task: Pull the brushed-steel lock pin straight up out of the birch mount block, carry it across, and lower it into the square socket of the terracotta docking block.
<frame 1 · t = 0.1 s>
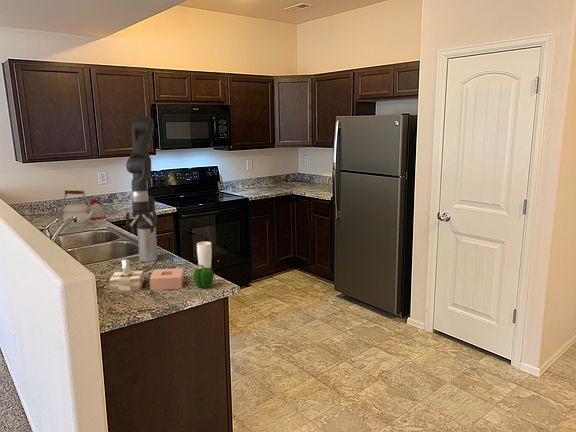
hand: (142, 233, 217), 17 cm above the worktop, tool pointing down, fingers open, 8 cm apart
drinking glass: (205, 274, 208), on the worktop
kettle: (79, 225, 320), on the worktop
mount block: (127, 286, 193), on the worktop
dock block: (167, 284, 195), on the worktop
lock pin: (126, 273, 191), in the mount block
bell pepper: (204, 287, 192), on the worktop
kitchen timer: (95, 218, 344), on the worktop
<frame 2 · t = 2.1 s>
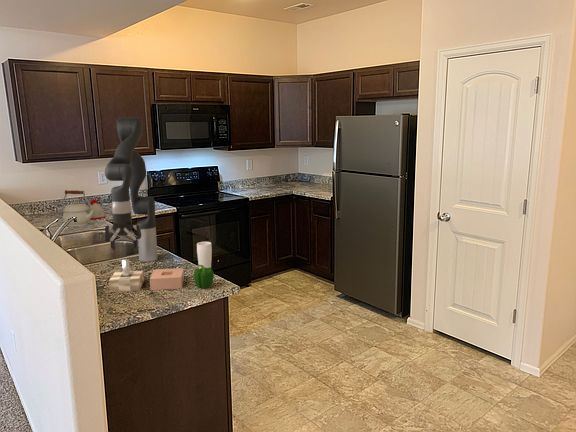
hand: (124, 248, 189), 17 cm above the worktop, tool pointing down, fingers open, 8 cm apart
nothing on the worktop moved.
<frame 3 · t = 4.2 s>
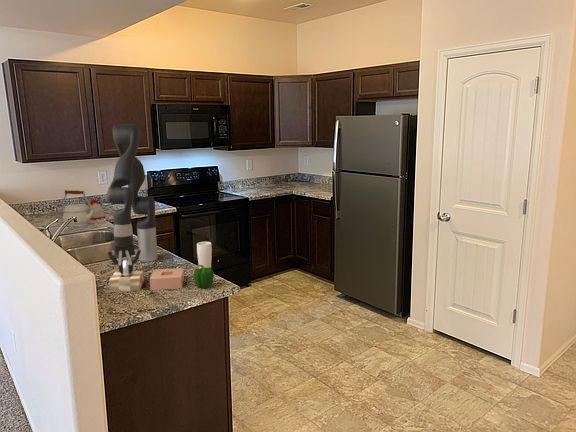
hand: (126, 272, 191), 6 cm above the worktop, tool pointing down, fingers closed on lock pin, 3 cm apart
lock pin: (126, 273, 191), in the mount block, touching gripper
everything else where it was.
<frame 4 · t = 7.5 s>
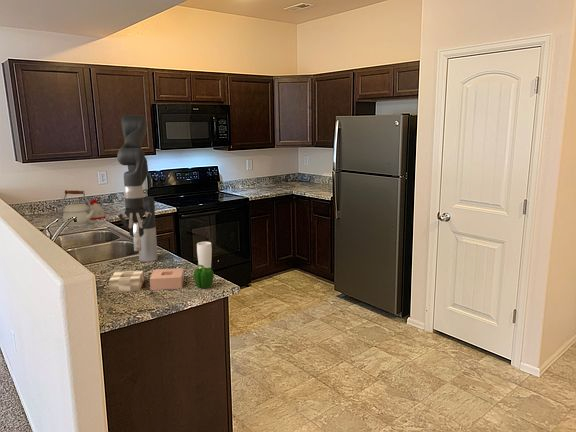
hand: (136, 236, 189), 22 cm above the worktop, tool pointing down, fingers closed on lock pin, 3 cm apart
lock pin: (136, 236, 189), point 22 cm above the worktop, touching gripper
everything else where it was.
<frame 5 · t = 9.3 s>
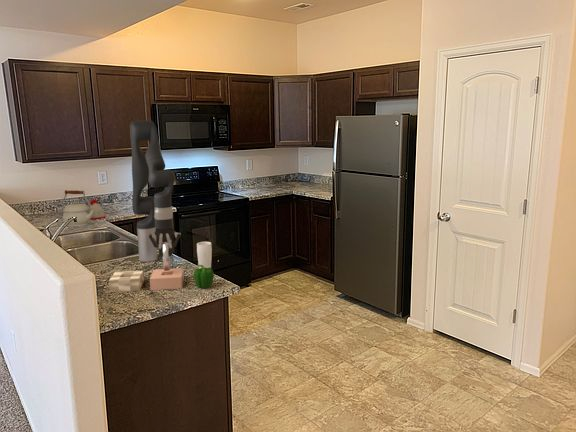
hand: (166, 256, 193), 13 cm above the worktop, tool pointing down, fingers closed on lock pin, 3 cm apart
lock pin: (166, 256, 193), point 13 cm above the worktop, touching gripper
everything else where it was.
when the fingers open (7 cm above the worktop, at t = 10.7 s): lock pin stays where it is, resting in dock block.
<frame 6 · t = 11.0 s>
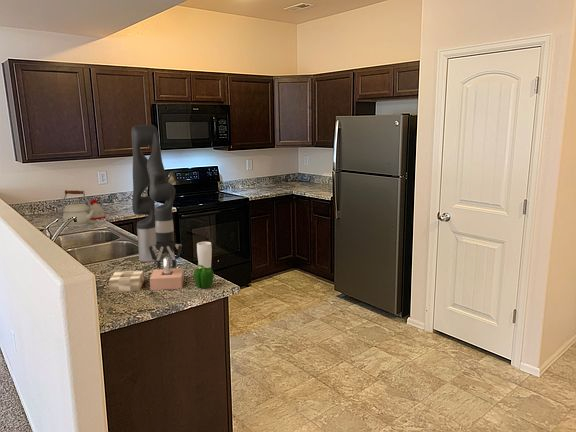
hand: (166, 267, 194), 7 cm above the worktop, tool pointing down, fingers open, 5 cm apart
lock pin: (167, 271, 194), in the dock block
everything else where it was.
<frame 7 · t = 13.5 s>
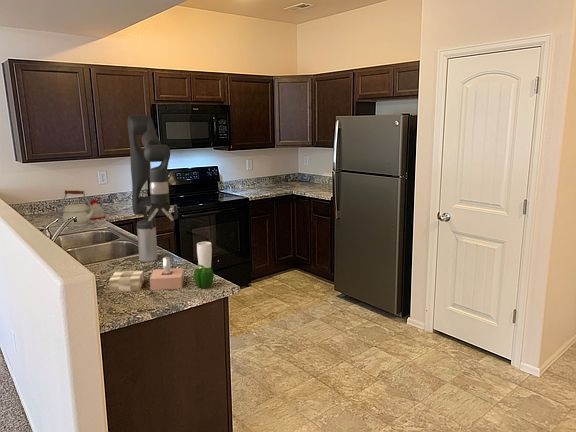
hand: (161, 229, 193), 24 cm above the worktop, tool pointing down, fingers open, 8 cm apart
nothing on the worktop moved.
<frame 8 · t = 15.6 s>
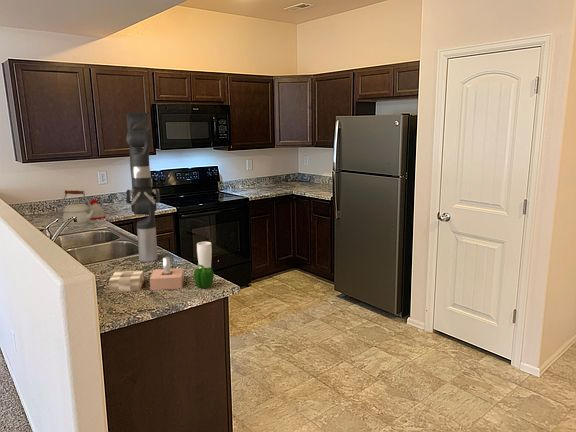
hand: (144, 212, 201), 30 cm above the worktop, tool pointing down, fingers open, 8 cm apart
nothing on the worktop moved.
at the end: lock pin 0.0 cm off-centre on the dock block, point 6.0 cm above the dock block's base; lock pin tilted 0°; the gripper is holding nothing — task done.
